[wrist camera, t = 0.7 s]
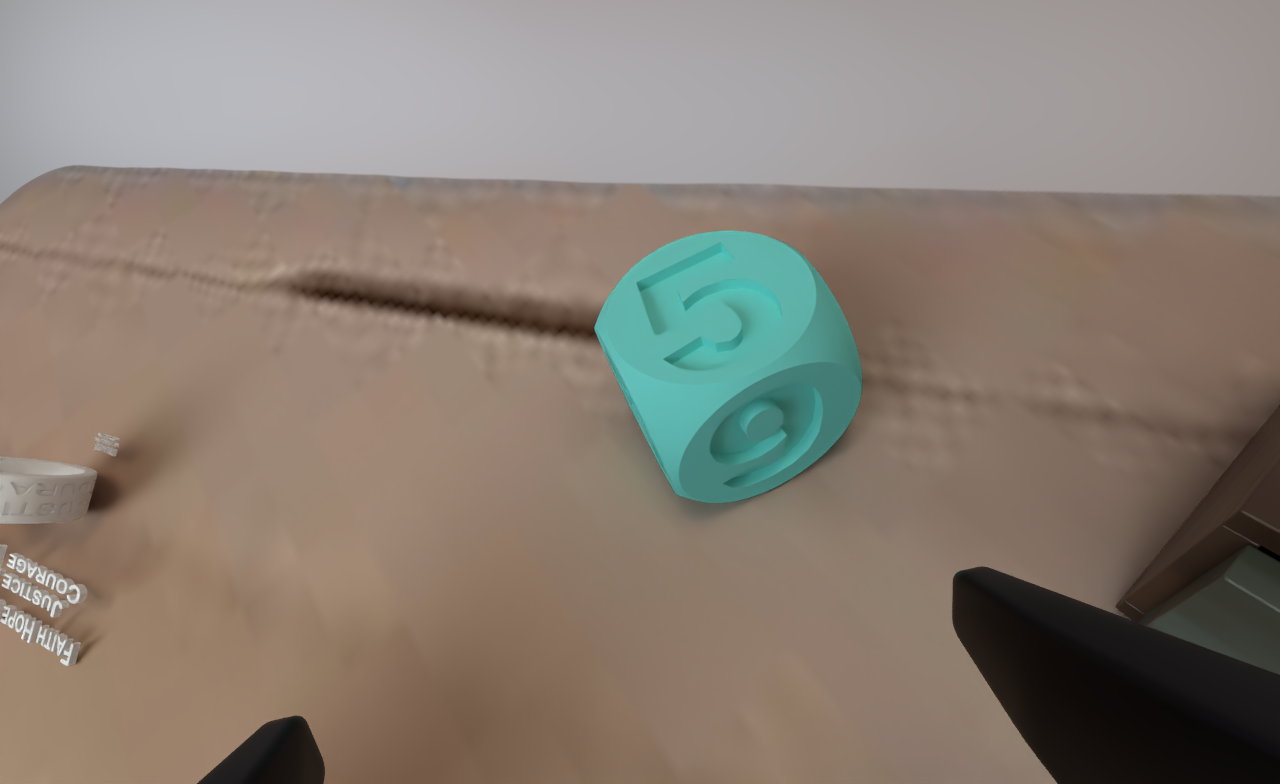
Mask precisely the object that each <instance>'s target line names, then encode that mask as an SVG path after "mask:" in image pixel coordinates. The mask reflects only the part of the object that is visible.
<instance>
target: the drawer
mask: <svg viewBox="0 0 1280 784" xmlns="http://www.w3.org/2000/svg"><path fill="white" fill-rule="evenodd" d="M1139 623H1140V624H1143V625H1146V626H1148V627H1151V628H1154V629H1157V630H1159V631H1162V632H1165V633H1167V634H1170V635H1173V636H1176V637H1178V638H1181V639H1184V640H1187V641H1189V642H1192V643H1195V644H1197V645H1200V646H1203V647H1206V648H1208V649H1211V650H1214V651H1216V652H1219V653H1222V654H1225V655H1227V656H1230V657H1233V658H1235V659H1238V660H1241V661H1244V662H1246V663H1249V664H1252V665H1254V666H1257V667H1260V668H1263V669H1265V670H1268V671H1271V672H1273V673H1276V674H1279V675H1280V556H1279V555H1277V554H1275V553H1274V552H1272V551H1270V550H1268V549H1266V548H1265V547H1263V546H1260V547H1259V548H1257V549H1256V548H1254V547H1253V546H1251V545H1246V546H1244V547H1243V548H1241V549H1240V550H1239V551H1237V552H1236V553H1234V554H1233V555H1231V556H1230V557H1228V558H1227V559H1225V560H1224V561H1223V562H1221V563H1220V564H1218V565H1217V566H1215V567H1214V568H1212V569H1211V570H1209V571H1208V572H1207V573H1205V574H1204V575H1202V576H1201V577H1199V578H1198V579H1196V580H1195V581H1193V582H1192V583H1190V584H1189V585H1188V586H1186V587H1185V588H1183V589H1182V590H1180V591H1179V592H1177V593H1176V594H1174V595H1173V596H1172V597H1170V598H1169V599H1167V600H1166V601H1164V602H1163V603H1161V604H1160V605H1158V606H1157V607H1155V608H1154V609H1153V610H1151V611H1150V612H1148V613H1147V614H1145V615H1144V617H1143V618H1142V619H1141V621H1140V622H1139Z"/></svg>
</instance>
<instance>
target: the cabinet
mask: <svg viewBox="0 0 1280 784" xmlns="http://www.w3.org/2000/svg"><path fill="white" fill-rule="evenodd" d="M1246 545H1251V546H1253V547H1254V548H1256V549H1257V548H1259V547H1260V546H1263V547H1265V548H1266V549H1268V550H1270V551H1272V552H1274V553H1275V554H1277V555H1279V556H1280V405H1279V406H1278V408H1277V409H1276V410H1275V411H1274V412H1273V414H1272V415H1271V416H1270V417H1269V419H1268V420H1267V421H1266V422H1265V424H1264V425H1263V426H1262V427H1261V428H1260V430H1259V431H1258V432H1257V433H1256V435H1255V436H1254V437H1253V438H1252V439H1251V441H1250V442H1249V443H1248V444H1247V446H1246V447H1245V448H1244V449H1243V451H1242V452H1241V453H1240V454H1239V455H1238V457H1237V458H1236V459H1235V460H1234V462H1233V463H1232V464H1231V465H1230V467H1229V468H1228V469H1227V470H1226V471H1225V473H1224V474H1223V475H1222V476H1221V478H1220V479H1219V480H1218V481H1217V482H1216V484H1215V485H1214V486H1213V487H1212V489H1211V490H1210V491H1209V492H1208V494H1207V495H1206V496H1205V497H1204V498H1203V500H1202V501H1201V502H1200V503H1199V505H1198V506H1197V507H1196V508H1195V509H1194V511H1193V512H1192V513H1191V514H1190V516H1189V517H1188V518H1187V519H1186V521H1185V522H1184V523H1183V524H1182V525H1181V527H1180V528H1179V529H1178V530H1177V532H1176V533H1175V534H1174V535H1173V537H1172V538H1171V539H1170V540H1169V541H1168V543H1167V544H1166V545H1165V546H1164V548H1163V549H1162V550H1161V551H1160V552H1159V554H1158V555H1157V556H1156V557H1155V559H1154V560H1153V561H1152V562H1151V564H1150V565H1149V566H1148V567H1147V568H1146V570H1145V571H1144V572H1143V573H1142V575H1141V576H1140V577H1139V578H1138V580H1137V581H1136V582H1135V583H1134V584H1133V586H1132V587H1131V588H1130V589H1129V591H1128V592H1127V593H1126V594H1125V595H1124V597H1123V598H1122V599H1121V600H1120V602H1119V603H1118V604H1117V605H1116V608H1117V609H1118V610H1119V611H1121V612H1122V613H1124V614H1125V615H1127V616H1128V617H1130V618H1131V619H1132V620H1134V621H1135V622H1138V623H1139V622H1140V621H1141V619H1142V618H1143V617H1144V615H1145V614H1147V613H1148V612H1150V611H1151V610H1153V609H1154V608H1155V607H1157V606H1158V605H1160V604H1161V603H1163V602H1164V601H1166V600H1167V599H1169V598H1170V597H1172V596H1173V595H1174V594H1176V593H1177V592H1179V591H1180V590H1182V589H1183V588H1185V587H1186V586H1188V585H1189V584H1190V583H1192V582H1193V581H1195V580H1196V579H1198V578H1199V577H1201V576H1202V575H1204V574H1205V573H1207V572H1208V571H1209V570H1211V569H1212V568H1214V567H1215V566H1217V565H1218V564H1220V563H1221V562H1223V561H1224V560H1225V559H1227V558H1228V557H1230V556H1231V555H1233V554H1234V553H1236V552H1237V551H1239V550H1240V549H1241V548H1243V547H1244V546H1246Z"/></svg>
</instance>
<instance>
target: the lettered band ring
mask: <svg viewBox="0 0 1280 784" xmlns="http://www.w3.org/2000/svg"><path fill="white" fill-rule="evenodd" d="M98 436H99V437H101V438H95V440H97V441H96V442H99V443H104V444H106V445H111V446H113V447H119V445H120V444H118V443H115V442H112V441H108V440H113V441H119V440H120V438H117V437H114V436H110V435H107V434H103V433H98ZM102 438H105V439H108V440H105V439H102ZM103 441H104V442H103ZM95 445H96V446H94V447H95V448H93V449H97V450H100V451H103V452H105V453H109V455H110V456H116V454H117V449H114V448H111V447H107V446H104V445H101V444H96V443H95ZM96 477H97V472H96V471H95V470H93V469H91V468H88V467H84V466H80V465H75V464H70V463H64V462H57V461H50V460H41V459H31V458H18V457H1V456H0V523H5V524H40V523H56V522H65V521H71V520H75V519H79V518H82V517H83V516H85V515H86V514H87V510H88V507H89V503H90V499H91V496H92V492H93V488H94V485H95V481H96ZM6 549H7V545H0V576H6V577H8V578H9V579H4V580H3V581H4V582H6V584H2V586H3V587H5V588H6V589H11V591H12V592H13V593H20V595H19V596H23V598H25V599H27V600H29V601H32V602H33V603H34V604H35V605H40V604H41V608H47V611H51V615H50V616H51V617H58V616H60V615H61V612H62V609H66V608H69V603H68V601H69V602H70V603H73V604H74V603H81V602H84V601H85V599H86V597H87V589H86V587H85V586H84V585H82V584H77V585H74V582H73V580H72V579H69V578H67V579H63V576H62V575H61V574H60V573H54V574H53V572H54V571H53V570H48V569H47V567H45V566H37V562H32V560H31V559H28V558H27V559H23V558H24V556H22V555H20V554H18V553H11V554H10V555H9V556H11V557H13V558H14V559H9V560H8V561H9V562H11V564H7V566H8V567H10V568H12V569H16V570H17V571H18V572H19V573H26V572H28V577H30V578H35V577H36V581H38V582H39V583H41V584H45V586H52V587H51V589H57V591H58V592H59V593H60V594H65V593H71V592H72V591H73V590H77V595H75V594H73V595H67V599H68V601H66V600H61V601H59V599H58V597H57V596H56V595H54V594H53V595H49V593H48V591H47V590H44V589H43V590H37V588H38V586H36V585H35V586H31V585H32V583H31V582H28V583H27V581H26V580H25V579H18V578H19V576H17V575H15V574H13V573H6V574H5V572H6V570H4V569H2V568H1V567H2V563H3V560H4V556H5V553H6ZM17 583H18V586H16V585H17ZM6 610H8V612H6ZM16 611H17V607H15V606H14V605H6V601H5V600H4V599H2V600H0V622H2V623H4V624H5V625H6V624H8V626H9V627H11V628H12V629H13V628H15V629H16V631H17V632H23V634H22V638H21V639H23V640H24V639H28V641H27V642H28V643H33V642H36V643H41V646H44V648H46V649H48V650H49V651H50V650H51V652H56V651H57V655H58V656H61V655H67V656H68V657H66V658H61V661H60V662H61V663H63V664H65V665H66V666H71V665H75V663H76V660H77V656H78V652H79V649H80V645H81V643H80V642H76V643H72V642H73V640H74V639H73V638H71V639H67V635H64V633H61V634H59V631H58V630H57V631H54V628H49V625H43V626H41V624H42V621H36V618H35V617H32V618H31V615H30V614H24V611H18V612H16ZM3 617H6V618H3ZM2 618H3V619H2ZM69 648H70V649H69Z"/></svg>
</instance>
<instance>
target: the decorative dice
mask: <svg viewBox="0 0 1280 784" xmlns="http://www.w3.org/2000/svg"><path fill="white" fill-rule="evenodd" d="M594 329H595V332H596V334H597V337H598V339H599V342H600V344H601V346H602V348H603V351H604V353H605V355H606V357H607V359H608V362H609V364H610V366H611V368H612V370H613V372H614V374H615V376H616V379H617V381H618V383H619V385H620V387H621V389H622V391H623V393H624V395H625V397H626V399H627V401H628V403H629V405H630V408H631V410H632V412H633V414H634V416H635V418H636V420H637V422H638V424H639V426H640V428H641V430H642V432H643V434H644V436H645V438H646V440H647V442H648V444H649V446H650V448H651V449H652V451H653V453H654V455H655V457H656V459H657V461H658V463H659V465H660V467H661V469H662V471H663V472H664V474H665V476H666V478H667V480H668V482H669V483H670V485H671V487H672V489H673V490H674V492H675V494H676V495H678V496H682V497H685V498H689V499H692V500H696V501H701V502H707V503H727V502H734V501H739V500H743V499H746V498H750V497H753V496H756V495H758V494H761V493H764V492H766V491H768V490H771V489H773V488H775V487H777V486H779V485H781V484H782V483H784V482H786V481H788V480H789V479H791V478H793V477H794V476H796V475H798V474H799V473H801V472H802V471H803V470H805V469H806V468H808V467H809V466H810V465H811V464H813V463H814V462H815V461H816V460H818V459H819V458H820V457H821V456H822V455H823V454H824V453H826V452H827V451H828V450H829V449H830V448H831V447H832V446H833V445H834V443H835V442H836V441H837V440H838V439H839V438H840V437H841V435H842V434H843V433H844V431H845V430H846V429H847V427H848V426H849V424H850V422H851V421H852V419H853V417H854V415H855V413H856V411H857V408H858V405H859V402H860V398H861V393H862V383H863V380H862V370H861V363H860V359H859V354H858V351H857V347H856V344H855V341H854V338H853V335H852V333H851V330H850V328H849V325H848V323H847V321H846V318H845V316H844V314H843V312H842V310H841V308H840V306H839V304H838V302H837V301H836V299H835V297H834V295H833V294H832V292H831V290H830V289H829V287H828V286H827V284H826V283H825V281H824V280H823V278H822V277H821V276H820V274H819V273H818V272H817V270H816V269H815V268H814V267H813V266H812V264H811V263H810V262H809V261H808V260H807V259H806V258H805V257H804V256H803V255H802V254H801V253H799V252H798V251H797V250H796V249H794V248H793V247H791V246H790V245H788V244H786V243H783V242H781V241H778V240H775V239H773V238H770V237H767V236H764V235H760V234H756V233H751V232H744V231H714V232H706V233H701V234H696V235H692V236H688V237H685V238H682V239H679V240H676V241H674V242H671V243H669V244H667V245H665V246H663V247H661V248H659V249H657V250H655V251H654V252H652V253H650V254H649V255H647V256H646V257H645V258H643V259H642V260H641V261H639V262H638V263H637V264H636V265H635V266H634V267H632V268H631V269H630V270H629V271H628V273H627V274H626V275H625V276H624V277H623V278H622V279H621V280H620V281H619V283H618V284H617V285H616V287H615V288H614V289H613V291H612V292H611V294H610V295H609V297H608V298H607V300H606V302H605V304H604V306H603V308H602V310H601V312H600V314H599V317H598V319H597V322H596V325H595V327H594Z"/></svg>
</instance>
